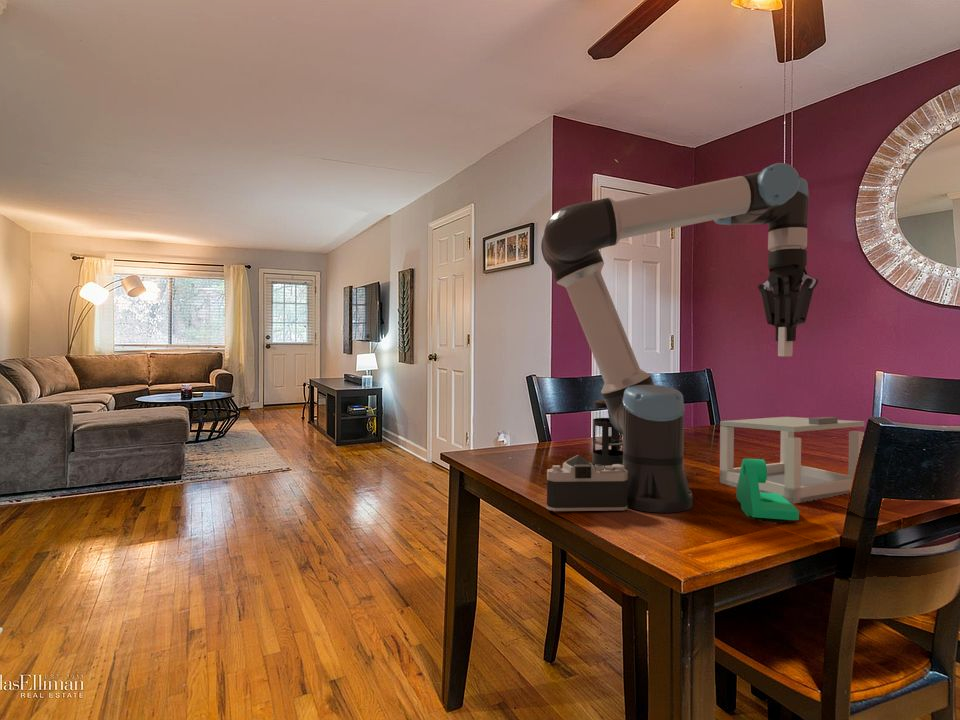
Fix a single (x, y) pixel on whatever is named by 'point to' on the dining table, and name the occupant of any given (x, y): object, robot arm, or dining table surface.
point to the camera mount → (761, 494)
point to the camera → (586, 486)
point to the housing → (792, 470)
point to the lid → (793, 423)
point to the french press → (606, 441)
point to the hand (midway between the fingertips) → (785, 356)
